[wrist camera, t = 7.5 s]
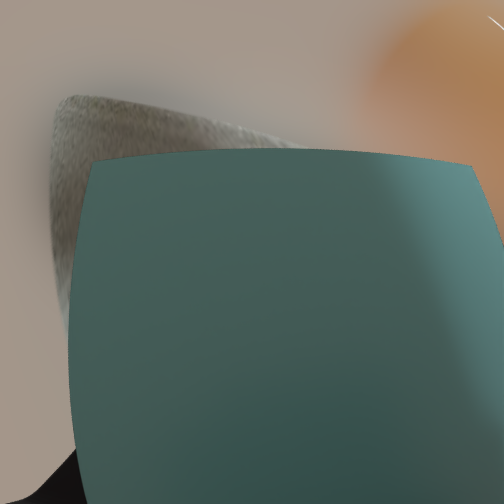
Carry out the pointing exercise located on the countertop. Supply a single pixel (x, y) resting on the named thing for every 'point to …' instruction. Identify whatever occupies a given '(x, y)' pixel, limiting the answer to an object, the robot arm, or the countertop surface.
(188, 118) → the countertop surface
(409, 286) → the teal tall cube
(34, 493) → the robot arm
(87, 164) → the countertop surface
